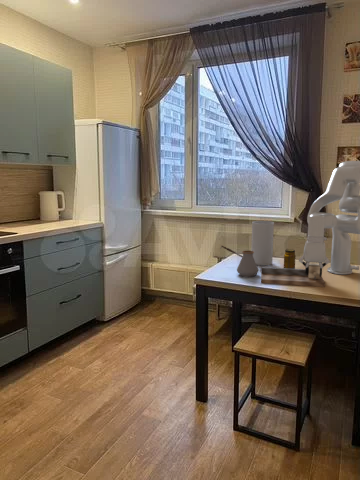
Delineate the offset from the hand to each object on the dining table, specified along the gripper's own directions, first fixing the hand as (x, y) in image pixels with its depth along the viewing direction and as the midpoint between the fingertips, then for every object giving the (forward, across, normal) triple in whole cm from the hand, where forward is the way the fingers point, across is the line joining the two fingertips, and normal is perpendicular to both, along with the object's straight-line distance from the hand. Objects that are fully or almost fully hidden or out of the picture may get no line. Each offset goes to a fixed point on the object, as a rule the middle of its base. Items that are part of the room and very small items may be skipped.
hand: (313, 274), depth 184 cm
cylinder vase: (+4, +25, -33) cm, 42 cm away
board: (+4, +10, +1) cm, 11 cm away
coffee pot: (+4, +37, -7) cm, 38 cm away
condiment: (+4, +9, -19) cm, 22 cm away
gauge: (+1, 0, +2) cm, 2 cm away
